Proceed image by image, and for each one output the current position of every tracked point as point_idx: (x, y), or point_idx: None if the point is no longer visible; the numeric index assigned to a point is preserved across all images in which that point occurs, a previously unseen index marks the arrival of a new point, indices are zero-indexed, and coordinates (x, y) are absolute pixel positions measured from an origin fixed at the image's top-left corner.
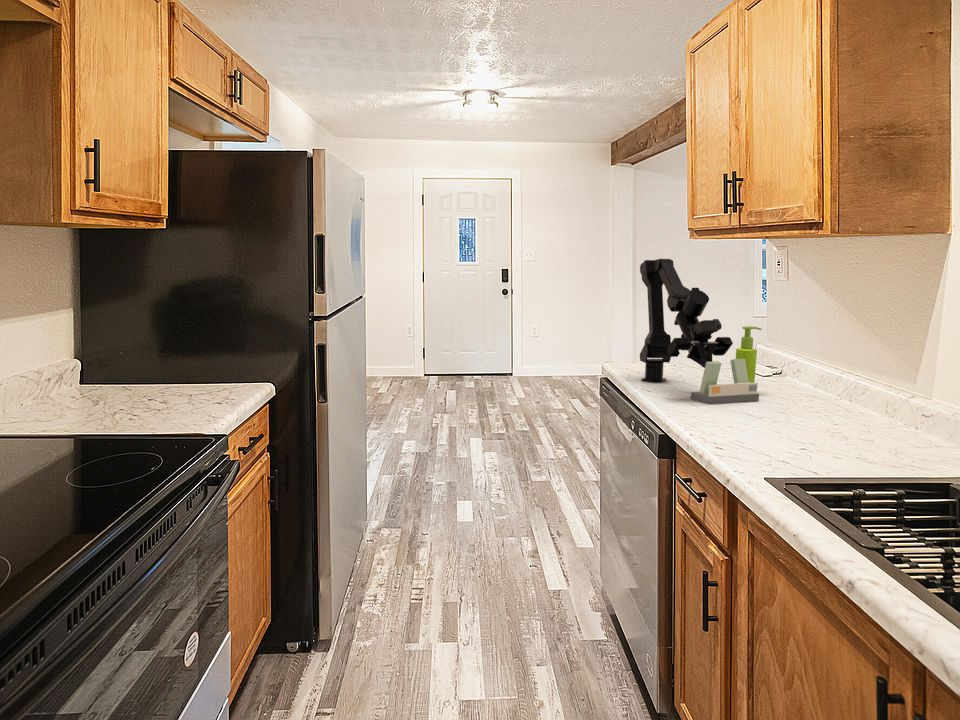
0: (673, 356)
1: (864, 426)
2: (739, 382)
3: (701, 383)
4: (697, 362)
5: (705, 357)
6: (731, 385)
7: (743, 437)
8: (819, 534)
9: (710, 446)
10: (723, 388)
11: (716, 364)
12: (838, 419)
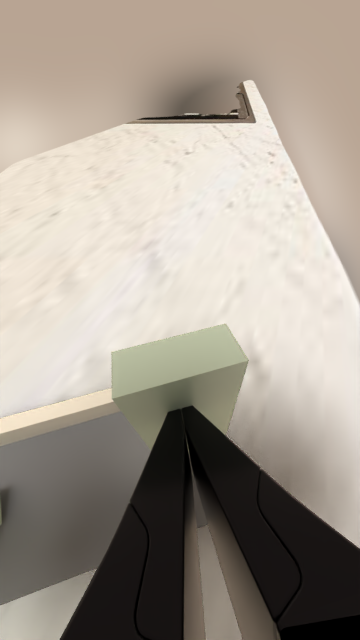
0: None
1: (23, 206)
2: None
3: (226, 428)
4: (306, 626)
5: (243, 486)
6: (86, 396)
7: (232, 174)
8: (255, 97)
9: (279, 157)
10: None
11: (161, 345)
12: (11, 236)
